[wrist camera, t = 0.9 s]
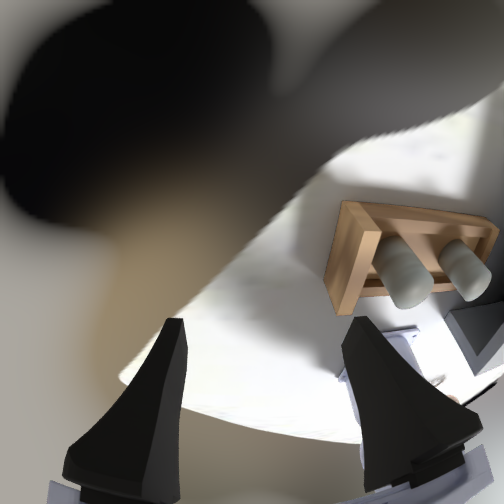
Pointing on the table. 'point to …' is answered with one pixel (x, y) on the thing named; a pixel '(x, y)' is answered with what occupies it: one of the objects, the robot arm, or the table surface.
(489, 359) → the grey low stand
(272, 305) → the table surface
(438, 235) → the teak tray
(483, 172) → the table surface
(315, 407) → the table surface
